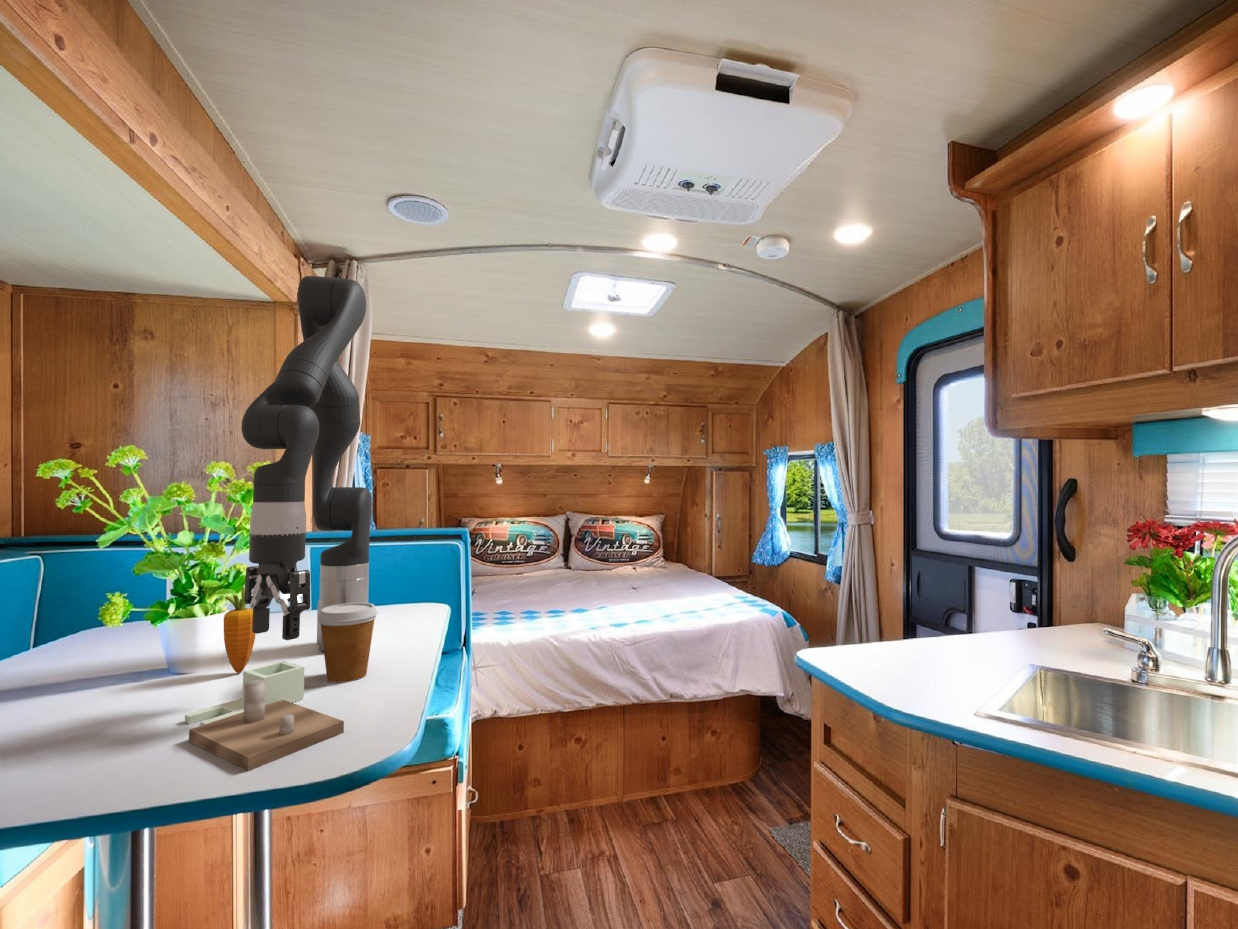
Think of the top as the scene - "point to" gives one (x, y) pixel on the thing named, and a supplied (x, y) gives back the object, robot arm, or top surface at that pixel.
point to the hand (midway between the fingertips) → (275, 635)
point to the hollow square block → (279, 685)
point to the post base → (264, 730)
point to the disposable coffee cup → (347, 639)
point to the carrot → (238, 633)
